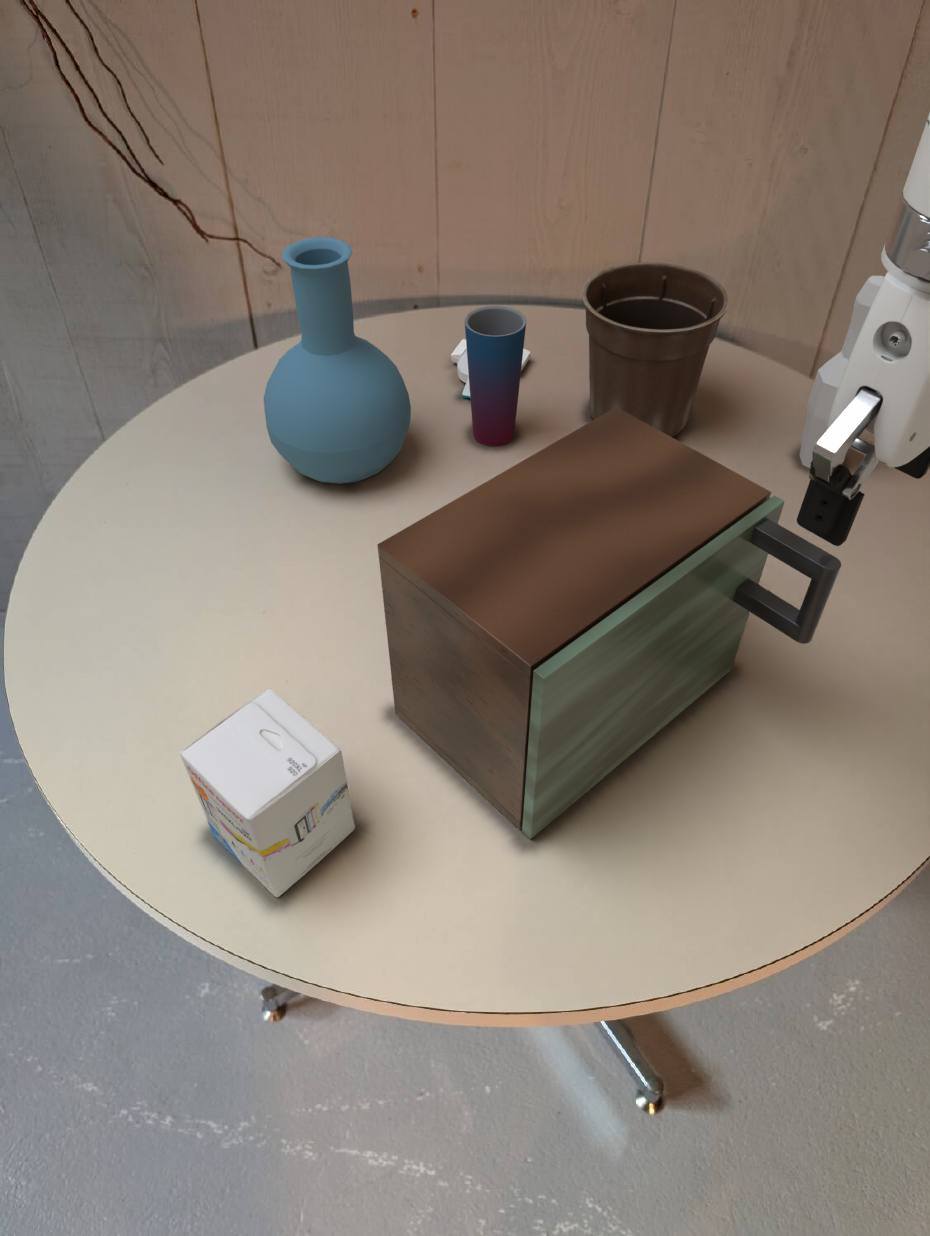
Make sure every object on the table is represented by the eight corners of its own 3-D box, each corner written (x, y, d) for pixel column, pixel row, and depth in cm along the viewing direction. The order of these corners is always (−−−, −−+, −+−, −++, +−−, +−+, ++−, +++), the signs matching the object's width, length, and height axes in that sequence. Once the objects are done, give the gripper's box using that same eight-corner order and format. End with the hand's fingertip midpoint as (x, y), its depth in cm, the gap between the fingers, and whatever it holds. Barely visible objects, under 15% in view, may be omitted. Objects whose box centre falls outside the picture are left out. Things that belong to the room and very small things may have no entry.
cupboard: (720, 663, 85) (772, 491, 70) (519, 830, 73) (530, 666, 58) (594, 575, 94) (616, 406, 79) (394, 713, 81) (376, 544, 67)
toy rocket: (473, 333, 127) (473, 318, 126) (540, 345, 125) (541, 330, 123) (431, 392, 117) (430, 376, 116) (502, 407, 115) (502, 391, 113)
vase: (414, 416, 114) (402, 214, 95) (413, 500, 102) (399, 289, 84) (282, 419, 113) (244, 218, 95) (265, 504, 102) (220, 293, 84)
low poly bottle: (844, 481, 104) (911, 300, 88) (788, 469, 105) (843, 289, 90) (850, 450, 108) (915, 272, 92) (795, 439, 110) (850, 262, 94)
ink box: (209, 834, 73) (173, 750, 65) (290, 769, 77) (267, 682, 69) (276, 902, 69) (248, 822, 61) (358, 829, 73) (343, 745, 65)
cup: (461, 447, 109) (459, 333, 98) (470, 415, 114) (469, 303, 103) (517, 453, 108) (522, 338, 97) (524, 420, 113) (529, 307, 102)
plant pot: (553, 437, 110) (562, 313, 99) (592, 370, 120) (605, 251, 109) (685, 467, 106) (711, 342, 94) (715, 396, 116) (741, 274, 104)
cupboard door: (794, 712, 81) (864, 544, 66) (593, 899, 69) (625, 743, 54) (723, 663, 85) (774, 494, 70) (521, 831, 73) (533, 670, 58)
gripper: (952, 326, 41) (839, 594, 53) (1111, 214, 49) (980, 470, 61) (808, 269, 44) (733, 531, 57) (977, 173, 52) (879, 422, 65)
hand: (861, 499), depth 59 cm, fingers open, 9 cm apart
